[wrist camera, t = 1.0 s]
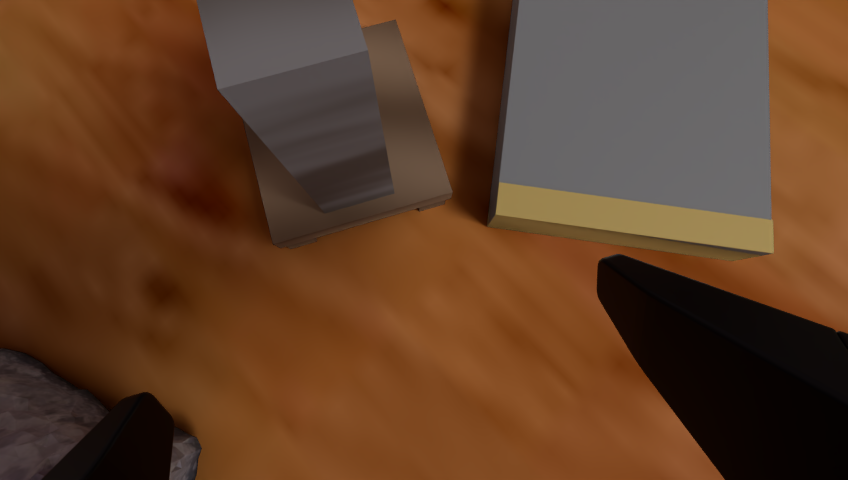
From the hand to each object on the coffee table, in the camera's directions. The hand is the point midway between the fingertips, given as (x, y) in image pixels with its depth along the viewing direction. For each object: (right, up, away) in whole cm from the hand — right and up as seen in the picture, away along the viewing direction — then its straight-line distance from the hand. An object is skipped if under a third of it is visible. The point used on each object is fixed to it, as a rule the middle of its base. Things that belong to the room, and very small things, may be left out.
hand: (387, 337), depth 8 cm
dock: (+11, +8, +15) cm, 21 cm away
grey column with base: (-4, +7, +15) cm, 17 cm away
